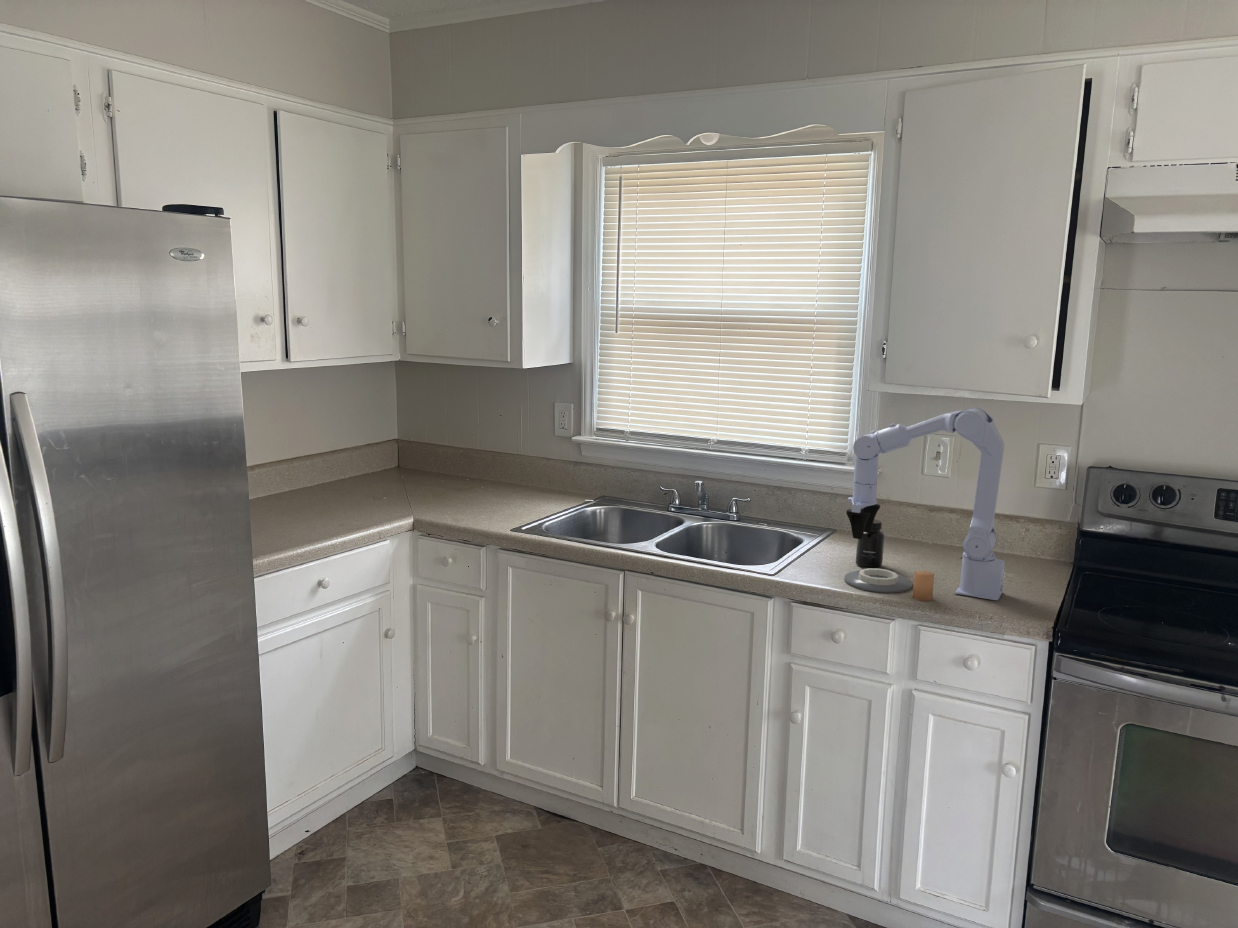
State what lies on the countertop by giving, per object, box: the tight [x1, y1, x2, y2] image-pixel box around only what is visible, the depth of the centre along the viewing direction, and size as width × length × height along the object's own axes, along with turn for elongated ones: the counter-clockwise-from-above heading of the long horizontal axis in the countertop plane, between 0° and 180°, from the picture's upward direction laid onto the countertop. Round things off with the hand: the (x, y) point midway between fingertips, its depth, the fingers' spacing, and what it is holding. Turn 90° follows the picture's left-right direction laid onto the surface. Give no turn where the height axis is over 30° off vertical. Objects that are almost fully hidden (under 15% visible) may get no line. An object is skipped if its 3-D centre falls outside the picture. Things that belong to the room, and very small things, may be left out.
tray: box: [843, 568, 913, 594], centre depth 222 cm, size 16×16×2 cm
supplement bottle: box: [855, 519, 886, 569], centre depth 236 cm, size 7×7×12 cm
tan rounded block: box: [912, 570, 935, 602], centre depth 211 cm, size 4×4×6 cm
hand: (861, 535), depth 228 cm, fingers open, 7 cm apart
